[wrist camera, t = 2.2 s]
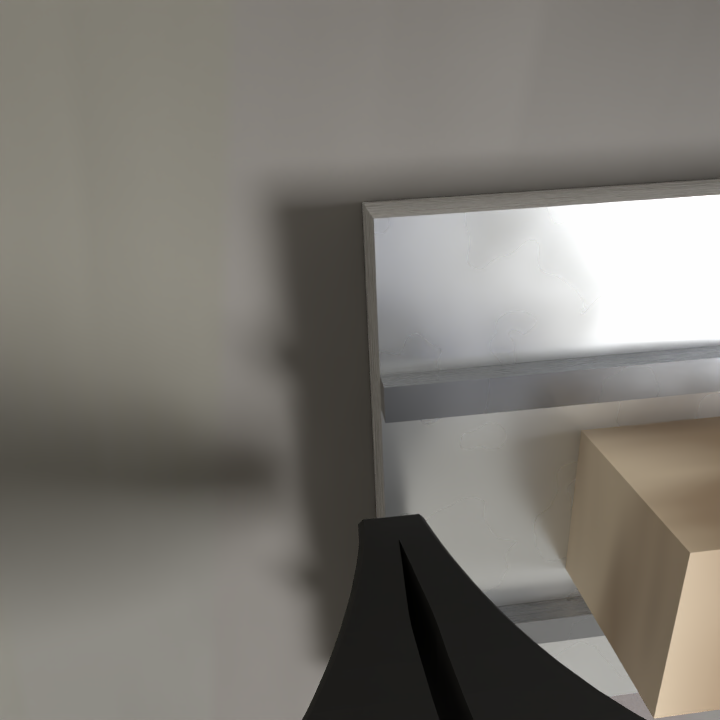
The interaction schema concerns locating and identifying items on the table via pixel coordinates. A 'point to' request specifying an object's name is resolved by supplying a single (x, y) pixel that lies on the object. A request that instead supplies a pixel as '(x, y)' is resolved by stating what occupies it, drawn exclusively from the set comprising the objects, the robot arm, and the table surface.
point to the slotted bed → (533, 371)
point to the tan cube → (653, 555)
